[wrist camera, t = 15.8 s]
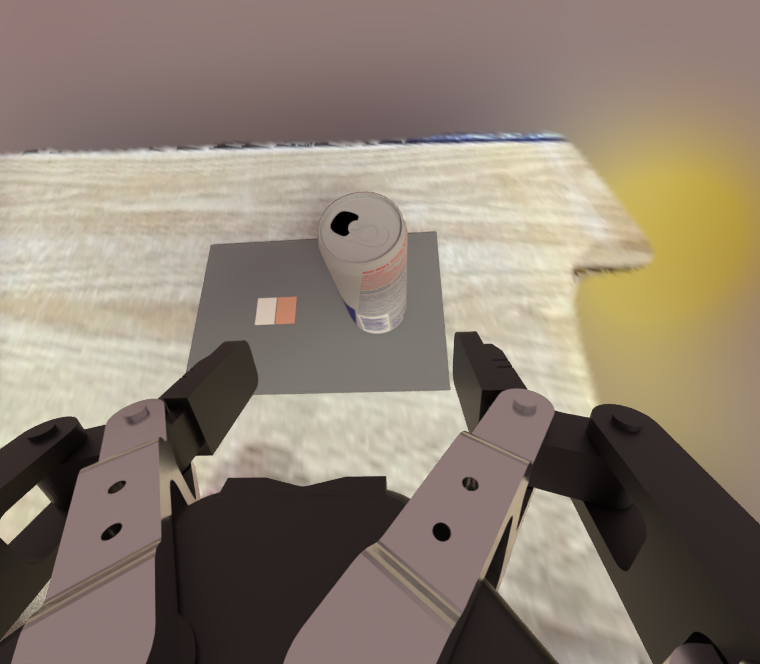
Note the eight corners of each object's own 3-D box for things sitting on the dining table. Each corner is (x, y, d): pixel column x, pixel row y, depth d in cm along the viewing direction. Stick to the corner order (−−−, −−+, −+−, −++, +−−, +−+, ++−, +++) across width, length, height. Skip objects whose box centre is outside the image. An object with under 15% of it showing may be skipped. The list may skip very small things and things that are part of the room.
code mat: (182, 396, 27) (180, 396, 27) (212, 246, 32) (210, 244, 32) (449, 390, 26) (450, 389, 25) (436, 233, 31) (436, 231, 31)
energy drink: (367, 274, 30) (343, 177, 18) (416, 296, 28) (423, 207, 17) (339, 320, 28) (296, 245, 17) (389, 345, 27) (379, 283, 16)
